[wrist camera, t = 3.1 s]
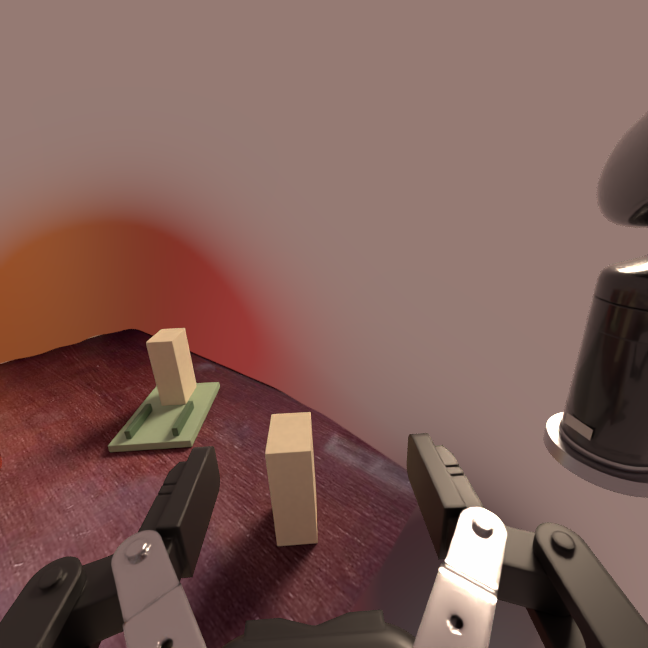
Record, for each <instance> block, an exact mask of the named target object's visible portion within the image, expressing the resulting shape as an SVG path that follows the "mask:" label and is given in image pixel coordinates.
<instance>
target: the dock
mask: <svg viewBox="0 0 648 648" xmlns="http://www.w3.org/2000/svg"><path fill="white" fill-rule="evenodd" d="M146 345H147V349H148V353H149V357H150V361H151V365H152V369H153V373H154V377H155V381H156V385H157V386H156V387H155V389H154V390H153V391H152V392H151V394H150V395H149V396H148V397H147V398H146V400H145V401H144V402H143V403H142V405H141V406H140V407H139V408H138V409H137V411H136V412H135V413H134V414H133V416H132V417H131V418H130V419H129V420H128V422H127V423H126V424H125V425H124V427H123V428H122V429H121V430H120V431H119V433H118V434H117V435H116V436H115V438H114V439H113V440H112V441H111V442H110V444H109V445H108V449H109V452H122V451H137V450H152V449H167V448H182V447H192V445H193V443H194V441H195V439H196V437H197V435H198V433H199V430H200V428H201V426H202V424H203V422H204V420H205V418H206V416H207V413H208V411H209V409H210V407H211V405H212V403H213V401H214V399H215V396H216V394H217V392H218V390H219V388H220V385H219V382H212V383H196V380H195V375H194V370H193V365H192V361H191V356H190V351H189V346H188V341H187V336H186V331H185V328H176V329H161V330H160V331H159V332H158V333H156V334H155V335H154V336H153V337H152V338H151V339H150V340H148V341H147V342H146Z"/></svg>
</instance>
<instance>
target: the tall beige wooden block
mask: <svg viewBox="0 0 648 648" xmlns="http://www.w3.org/2000/svg"><path fill="white" fill-rule="evenodd" d="M265 457H266V465H267V472H268V480H269V488H270V495H271V503H272V510H273V518H274V526H275V533H276V541H277V546H287V545H300V544H313V543H318V540H317V508H316V486H315V471H314V456H313V441H312V426H311V412H302V413H287V414H272V416H271V422H270V428H269V434H268V440H267V446H266V452H265Z"/></svg>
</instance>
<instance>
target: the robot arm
mask: <svg viewBox="0 0 648 648" xmlns="http://www.w3.org/2000/svg"><path fill="white" fill-rule="evenodd" d="M597 203H598V206H599V209H600V211H601V213H602V214H603V216H604V217H605V218H606V219H607V220H608V221H610V222H612V223H614V224H616V225H620V226H626V227H635V228H648V111H647V112H646V113H645V114H644V115H643V116H642V117H640V118H639V119H638V120H637V121H636V122H635V123H634V124H633V125H632V126H631V127H630V128H629V129H628V130H627V132H626V133H625V134H624V135H623V136H622V138H621V139H620V140H619V142H618V143H617V144H616V146H615V147H614V149H613V150H612V152H611V154H610V155H609V157H608V159H607V161H606V163H605V165H604V167H603V169H602V172H601V175H600V178H599V181H598V186H597ZM559 433H560V435H561V437H562V438H563V439H564V441H565V442H566V443H567V444H568V445H569V446H570V447H572V448H573V449H574V450H576V451H577V452H579V453H580V454H582V455H583V456H585V457H587V458H589V459H591V460H593V461H595V462H597V463H600V464H602V465H605V466H608V467H610V468H614V469H617V470H621V471H626V472H632V473H648V255H645V256H642V257H639V258H635V259H631V260H627V261H622V262H618V263H615V264H612V265H609V266H607V267H605V268H604V269H603V270H602V271H601V272H600V274H599V275H598V278H597V282H596V286H595V289H594V294H593V298H592V302H591V306H590V310H589V314H588V318H587V322H586V326H585V330H584V334H583V338H582V342H581V346H580V350H579V354H578V358H577V362H576V366H575V370H574V374H573V378H572V381H571V385H570V389H569V393H568V397H567V401H566V405H565V409H564V413H563V417H562V419H561V420H560V424H559ZM407 472H408V477H409V480H410V483H411V486H412V489H413V491H414V494H415V497H416V499H417V502H418V505H419V507H420V510H421V513H422V515H423V518H424V521H425V524H426V526H427V529H428V531H429V534H430V537H431V540H432V542H433V545H434V548H435V551H436V553H437V556H438V558H439V559H445V562H444V563H442V564H441V566H440V568H439V571H438V574H437V577H436V580H435V584H434V586H433V589H432V592H431V595H430V598H429V601H428V603H427V606H426V609H425V612H424V615H423V618H422V621H421V624H420V627H419V630H418V633H417V636H416V638H415V637H414V636H412V635H411V634H409V633H408V632H407V631H405V630H403V629H401V628H400V627H397V626H395V625H392V624H389V623H386V622H384V617H383V611H382V610H372V611H359V612H349V613H346V614H344V615H341V616H339V617H336V618H334V619H331V620H329V621H326V622H324V623H322V624H319V625H316V626H312V625H307V624H303V623H299V622H295V621H291V620H286V619H282V618H273V619H260V620H248V621H246V624H245V631H244V634H243V635H241V636H238V637H237V638H235V639H233V640H231V641H230V642H228V643H227V644H226V645H224V646H223V647H222V648H488V647H489V641H490V635H491V629H492V623H493V617H494V612H495V606H496V600H497V599H498V600H502V601H506V602H509V603H513V604H516V605H520V606H524V607H526V609H527V611H528V613H529V615H530V617H531V619H532V621H533V623H534V625H535V628H536V630H537V632H538V634H539V636H540V638H541V640H542V642H543V644H544V646H545V648H648V624H647V623H646V622H645V621H644V619H643V618H642V617H641V615H640V614H639V613H638V611H637V610H636V609H635V607H634V606H633V605H632V603H631V602H630V601H629V599H628V598H627V597H626V595H625V594H624V593H623V591H622V590H621V589H620V588H619V586H618V585H617V584H616V582H615V581H614V580H613V578H612V577H611V576H610V574H609V573H608V572H607V571H606V569H605V568H604V567H603V565H602V564H601V562H600V561H599V560H598V559H597V557H596V556H595V555H594V554H593V552H592V551H591V549H590V548H589V547H588V545H587V544H586V543H585V542H584V540H583V539H582V538H581V537H580V536H579V535H577V534H576V533H575V532H573V531H572V530H570V529H568V528H567V527H564V526H562V525H559V524H556V523H543V524H540V525H539V526H538V527H537V529H536V531H535V532H530V531H525V530H521V529H516V528H512V527H509V526H506V525H504V524H503V522H502V521H501V520H500V519H499V518H498V517H497V516H496V515H495V514H493V513H492V512H490V511H488V510H486V509H485V508H484V507H483V505H482V503H481V502H480V500H479V498H478V496H477V495H476V493H475V491H474V489H473V488H472V486H471V484H470V483H469V481H468V479H467V477H466V476H465V475H464V472H463V471H462V469H461V467H459V464H458V462H457V461H456V459H455V457H454V455H453V454H452V453H451V452H450V451H449V450H447V449H446V448H445V447H444V446H443V445H441V446H435V445H434V443H433V441H432V439H431V437H430V436H429V434H428V433H423V434H410V435H409V437H408V452H407ZM219 487H220V475H219V469H218V464H217V459H216V454H215V449H214V447H213V446H209V447H195V448H193V449H192V451H191V453H190V455H189V458H188V460H187V461H185V462H179V463H178V464H177V465H176V466H175V467H174V468H173V469H172V470H171V471H170V472H169V473H168V475H167V477H166V479H165V481H164V483H163V486H162V487H161V489H160V491H159V493H158V496H156V498H155V500H154V502H153V504H152V506H151V508H150V510H149V512H148V514H147V516H146V518H145V520H144V522H143V524H142V526H141V527H140V529H139V531H138V533H136V534H134V535H132V536H130V537H129V538H127V539H126V540H125V541H124V542H123V543H121V545H120V546H119V547H118V548H117V550H116V551H115V553H114V554H113V555H110V556H108V557H105V558H103V559H100V560H97V561H94V562H92V563H89V564H86V565H83V566H82V564H81V562H80V560H79V559H78V558H76V557H63V558H60V559H57V560H55V561H53V562H51V563H49V564H48V565H46V566H45V567H43V568H42V569H41V570H39V571H38V572H37V573H36V574H35V575H34V576H33V577H32V578H31V579H30V580H29V582H28V583H27V584H26V586H25V587H24V589H23V590H22V591H21V593H20V594H19V596H18V597H17V599H16V600H15V602H14V603H13V605H12V606H11V607H10V609H9V610H8V612H7V613H6V615H5V616H4V618H3V619H2V621H1V622H0V648H98V647H99V645H100V643H101V641H102V640H104V639H106V638H109V637H111V636H113V635H115V634H118V633H120V632H122V631H124V636H125V641H126V645H127V648H207V647H206V645H205V642H204V640H203V637H202V635H201V632H200V630H199V627H198V625H197V622H196V620H195V617H194V615H193V612H192V610H191V607H190V605H189V602H188V600H187V597H186V595H185V592H184V590H183V587H182V585H181V583H180V580H181V578H188V577H193V573H194V570H195V567H196V564H197V560H198V557H199V554H200V551H201V547H202V544H203V541H204V538H205V534H206V531H207V528H208V525H209V521H210V518H211V515H212V512H213V508H214V505H215V502H216V499H217V495H218V492H219Z"/></svg>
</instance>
